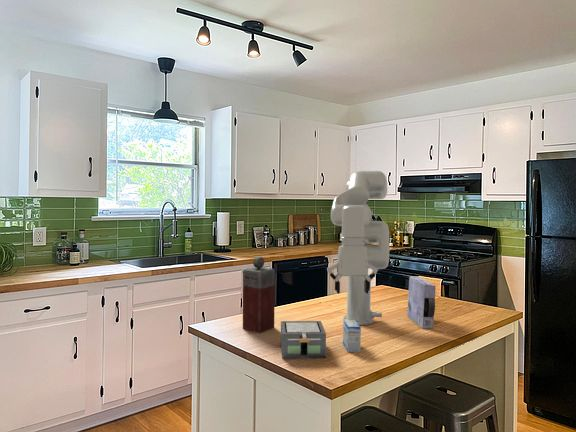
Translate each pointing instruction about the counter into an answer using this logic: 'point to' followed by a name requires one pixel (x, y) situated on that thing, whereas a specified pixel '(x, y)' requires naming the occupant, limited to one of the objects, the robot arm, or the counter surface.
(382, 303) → the counter surface
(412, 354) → the counter surface
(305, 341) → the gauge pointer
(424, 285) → the cake pan box
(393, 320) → the counter surface
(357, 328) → the medicine box
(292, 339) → the grey hollow square box
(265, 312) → the red square decanter
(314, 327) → the light grey flat panel
